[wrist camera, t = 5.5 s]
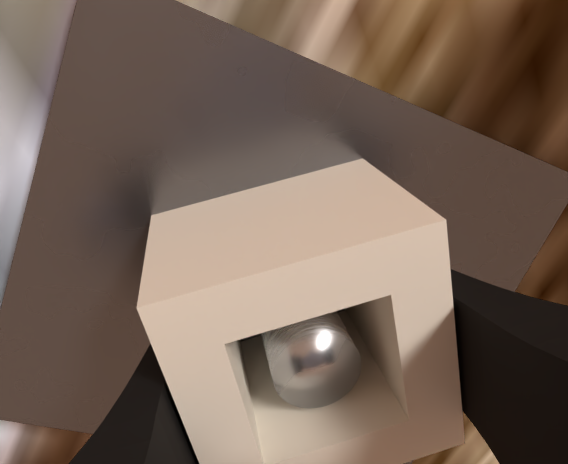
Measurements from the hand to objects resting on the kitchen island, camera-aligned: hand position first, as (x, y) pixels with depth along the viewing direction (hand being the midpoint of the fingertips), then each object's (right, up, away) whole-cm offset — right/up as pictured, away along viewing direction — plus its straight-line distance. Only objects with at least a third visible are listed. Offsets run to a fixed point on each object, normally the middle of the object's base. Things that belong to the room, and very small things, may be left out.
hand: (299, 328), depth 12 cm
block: (0, +1, +1) cm, 2 cm away
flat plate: (0, +1, +2) cm, 3 cm away
